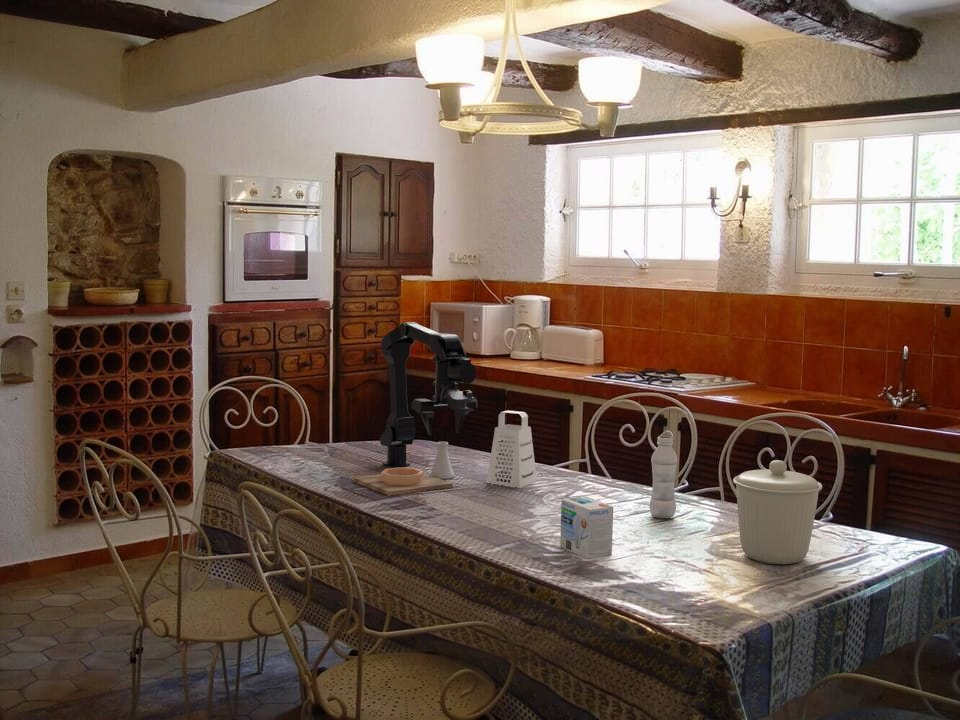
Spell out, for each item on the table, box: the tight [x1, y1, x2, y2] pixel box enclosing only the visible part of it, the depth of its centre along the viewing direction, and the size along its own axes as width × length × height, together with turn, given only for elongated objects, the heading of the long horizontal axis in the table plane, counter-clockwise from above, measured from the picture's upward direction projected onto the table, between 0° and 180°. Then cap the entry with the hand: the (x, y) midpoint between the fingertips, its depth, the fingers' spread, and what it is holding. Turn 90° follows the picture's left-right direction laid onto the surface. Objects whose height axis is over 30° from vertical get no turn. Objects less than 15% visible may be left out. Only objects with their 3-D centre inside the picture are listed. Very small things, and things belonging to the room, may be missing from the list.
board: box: [352, 472, 453, 497], centre depth 279 cm, size 20×20×1 cm
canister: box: [732, 459, 823, 565], centre depth 214 cm, size 18×18×21 cm
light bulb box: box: [559, 495, 614, 560], centre depth 217 cm, size 11×7×11 cm, turn 29°
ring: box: [380, 466, 425, 485], centre depth 279 cm, size 11×11×2 cm
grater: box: [486, 409, 538, 489], centre depth 283 cm, size 10×10×20 cm
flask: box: [429, 441, 455, 480], centre depth 290 cm, size 7×7×10 cm
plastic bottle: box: [648, 435, 679, 519], centre depth 246 cm, size 6×7×20 cm
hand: (443, 433), depth 286 cm, fingers open, 9 cm apart
